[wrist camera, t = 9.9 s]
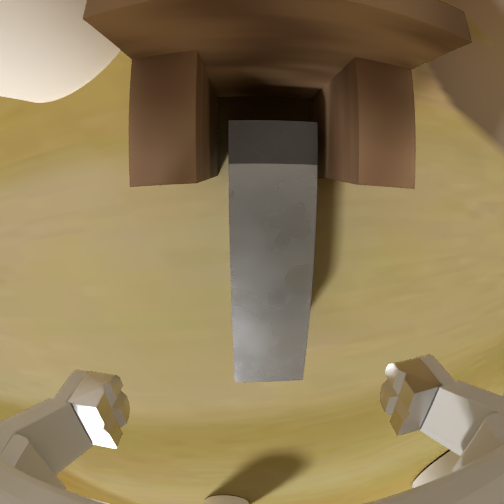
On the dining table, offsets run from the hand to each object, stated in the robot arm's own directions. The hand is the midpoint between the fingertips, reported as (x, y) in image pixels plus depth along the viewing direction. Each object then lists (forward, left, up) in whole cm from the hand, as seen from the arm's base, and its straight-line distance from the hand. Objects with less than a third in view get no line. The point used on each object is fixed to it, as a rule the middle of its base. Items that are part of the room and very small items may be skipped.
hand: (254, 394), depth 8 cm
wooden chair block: (-1, -8, -12) cm, 14 cm away
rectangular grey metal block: (-1, -1, -12) cm, 12 cm away
